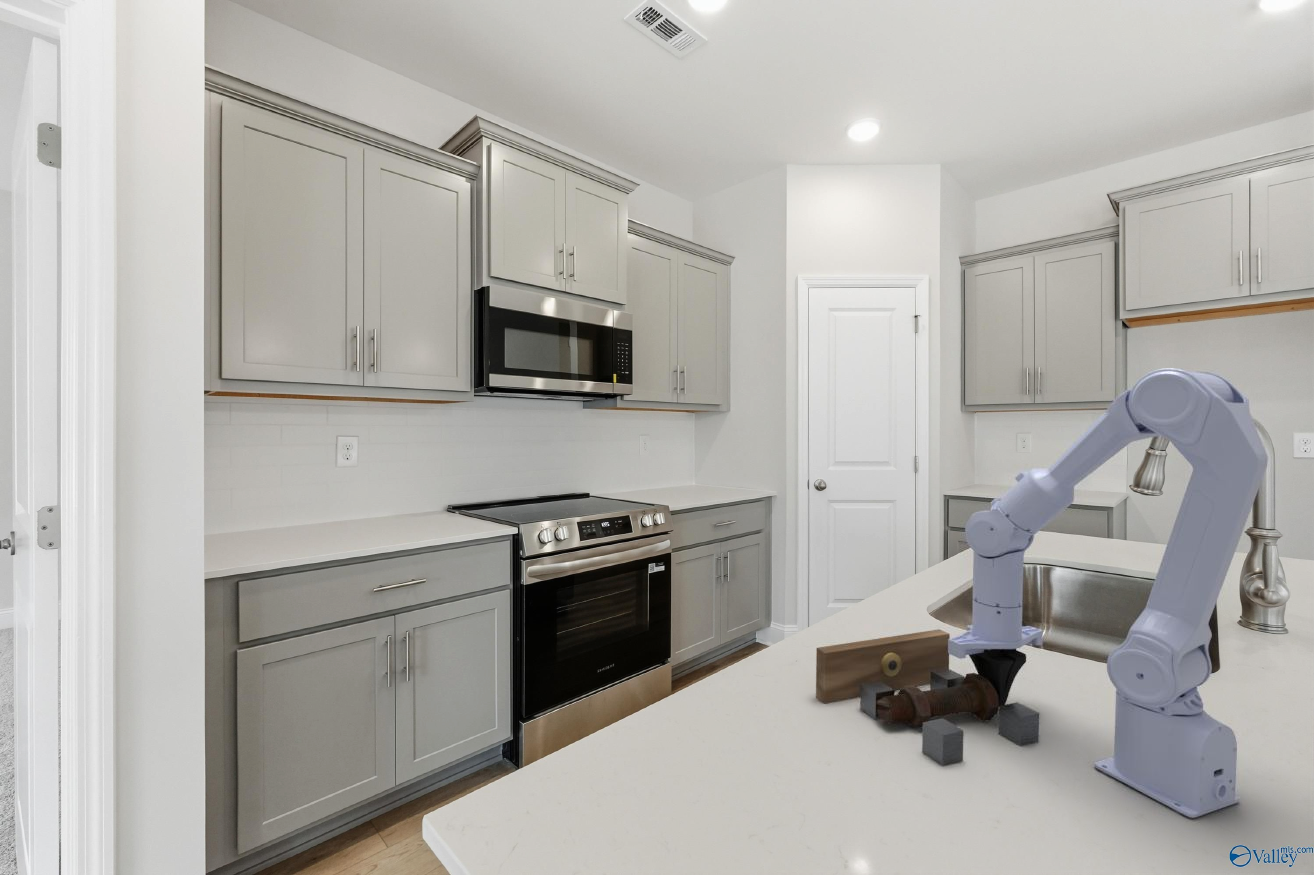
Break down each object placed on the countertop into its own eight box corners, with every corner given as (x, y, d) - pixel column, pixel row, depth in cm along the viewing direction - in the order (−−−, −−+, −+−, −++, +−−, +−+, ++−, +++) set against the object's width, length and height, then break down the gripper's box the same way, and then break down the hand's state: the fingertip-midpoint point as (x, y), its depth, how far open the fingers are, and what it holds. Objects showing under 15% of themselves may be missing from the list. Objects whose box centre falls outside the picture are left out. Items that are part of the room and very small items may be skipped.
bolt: (879, 737, 77) (980, 721, 80) (899, 735, 73) (1006, 718, 76) (866, 688, 80) (965, 674, 83) (884, 683, 76) (988, 669, 79)
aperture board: (952, 681, 90) (953, 635, 89) (827, 705, 82) (828, 654, 82) (938, 674, 92) (939, 629, 92) (815, 697, 85) (816, 647, 84)
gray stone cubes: (1038, 741, 73) (1039, 713, 73) (942, 765, 68) (943, 735, 68) (946, 692, 86) (947, 668, 86) (860, 709, 81) (860, 683, 81)
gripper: (1010, 588, 86) (1008, 682, 86) (930, 598, 81) (928, 698, 81) (1058, 602, 79) (1056, 704, 80) (974, 614, 74) (972, 723, 75)
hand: (994, 703), depth 80 cm, fingers closed
